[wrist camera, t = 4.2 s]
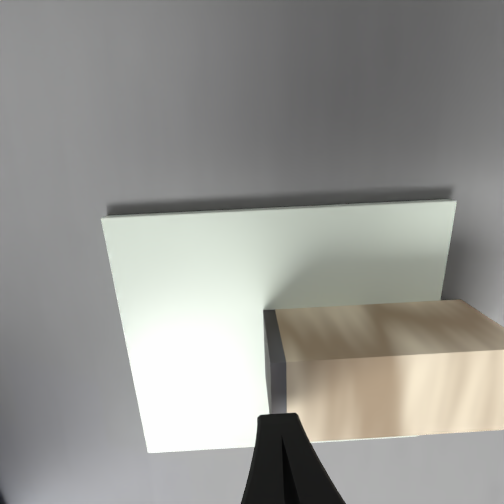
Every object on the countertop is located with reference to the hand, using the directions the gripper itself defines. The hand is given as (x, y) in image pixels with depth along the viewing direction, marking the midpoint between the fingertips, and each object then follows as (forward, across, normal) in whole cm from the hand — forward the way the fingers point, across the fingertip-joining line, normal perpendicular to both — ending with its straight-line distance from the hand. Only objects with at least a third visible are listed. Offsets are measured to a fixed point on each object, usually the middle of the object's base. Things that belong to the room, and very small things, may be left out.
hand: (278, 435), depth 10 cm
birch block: (+3, 0, 0) cm, 3 cm away
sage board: (+6, -1, 0) cm, 6 cm away
